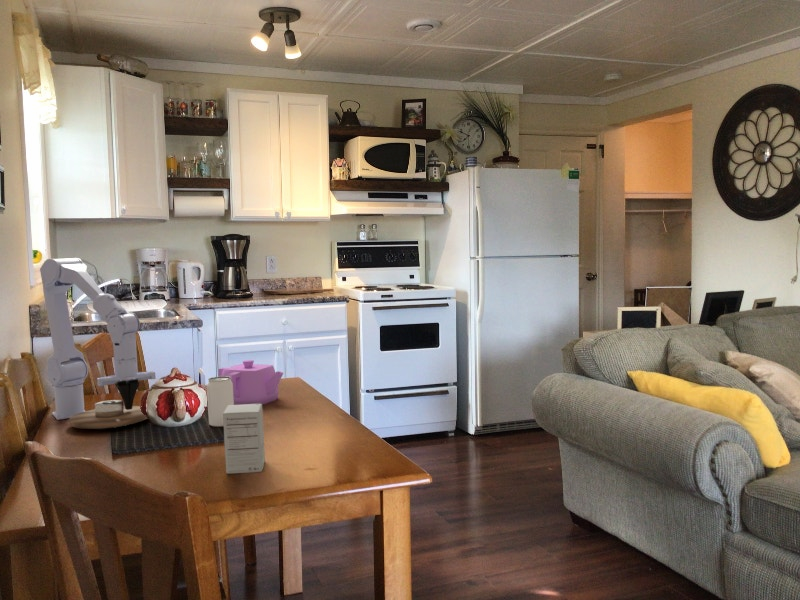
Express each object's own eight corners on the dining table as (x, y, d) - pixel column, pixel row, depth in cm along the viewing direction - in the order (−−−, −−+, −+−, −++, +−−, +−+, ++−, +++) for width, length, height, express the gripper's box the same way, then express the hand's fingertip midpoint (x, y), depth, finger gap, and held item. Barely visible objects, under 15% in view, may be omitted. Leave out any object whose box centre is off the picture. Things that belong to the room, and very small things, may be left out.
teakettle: (216, 399, 215) (214, 359, 214) (272, 393, 222) (270, 354, 221) (226, 410, 200) (224, 367, 199) (285, 403, 206) (283, 361, 205)
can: (228, 427, 180) (225, 380, 179) (204, 426, 182) (202, 380, 181) (238, 421, 187) (236, 376, 186) (215, 420, 188) (213, 375, 187)
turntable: (63, 417, 191) (63, 413, 190) (140, 406, 202) (140, 402, 202) (77, 433, 174) (76, 428, 174) (159, 419, 185) (159, 415, 185)
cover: (92, 414, 188) (91, 402, 188) (119, 410, 192) (119, 398, 192) (98, 419, 183) (98, 406, 182) (127, 415, 187) (126, 402, 186)
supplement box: (230, 463, 150) (227, 404, 149) (265, 461, 151) (263, 402, 150) (224, 474, 143) (221, 412, 142) (262, 472, 144) (259, 410, 143)
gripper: (99, 363, 182) (103, 415, 183) (157, 357, 190) (160, 407, 191) (94, 360, 188) (97, 411, 189) (150, 354, 196) (153, 402, 197)
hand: (128, 408), depth 190 cm, fingers closed
